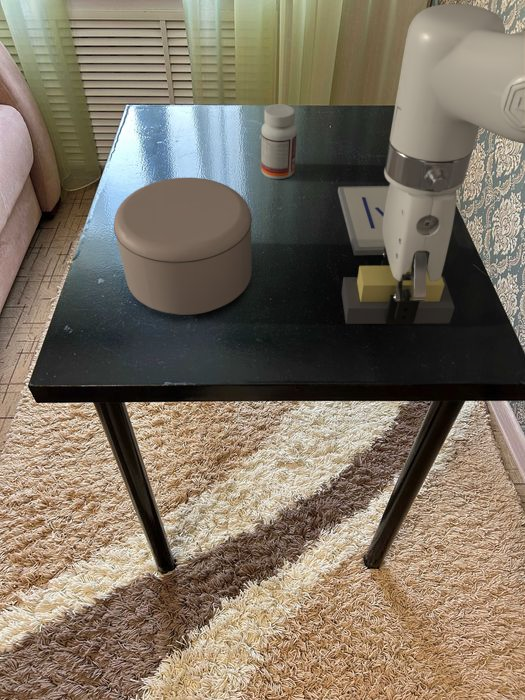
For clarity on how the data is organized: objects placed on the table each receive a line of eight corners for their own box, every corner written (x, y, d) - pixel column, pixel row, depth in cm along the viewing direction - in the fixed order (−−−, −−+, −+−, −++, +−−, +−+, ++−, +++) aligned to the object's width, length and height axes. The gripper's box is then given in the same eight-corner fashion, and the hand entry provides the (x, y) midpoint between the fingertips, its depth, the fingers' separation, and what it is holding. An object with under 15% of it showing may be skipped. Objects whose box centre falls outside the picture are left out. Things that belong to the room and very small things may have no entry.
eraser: (439, 292, 66) (449, 259, 62) (449, 323, 62) (460, 290, 59) (341, 292, 66) (345, 260, 62) (345, 324, 62) (350, 291, 59)
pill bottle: (279, 159, 101) (281, 99, 93) (301, 173, 98) (305, 111, 90) (254, 170, 99) (254, 108, 90) (275, 184, 96) (277, 121, 87)
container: (269, 305, 74) (271, 235, 66) (140, 335, 70) (123, 265, 62) (231, 232, 86) (228, 164, 77) (118, 254, 82) (102, 185, 73)
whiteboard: (438, 253, 83) (440, 248, 82) (353, 255, 82) (354, 250, 81) (411, 190, 95) (413, 185, 94) (337, 191, 94) (338, 186, 93)
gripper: (492, 211, 45) (442, 357, 58) (446, 120, 56) (413, 259, 70) (402, 212, 45) (372, 358, 58) (374, 121, 56) (355, 259, 70)
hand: (394, 303), depth 64 cm, fingers closed on eraser, 5 cm apart
